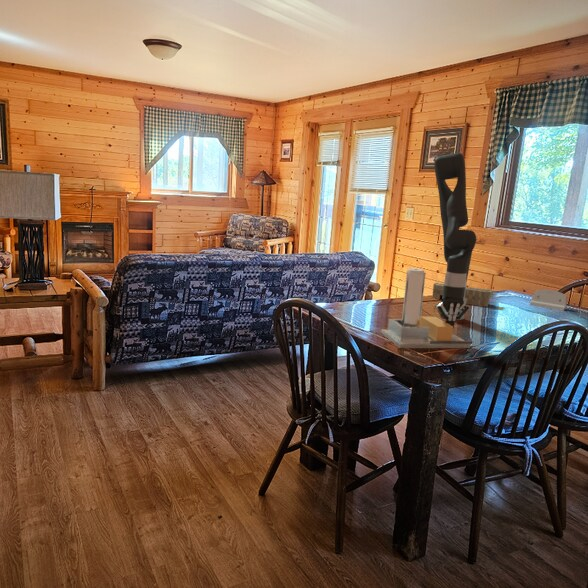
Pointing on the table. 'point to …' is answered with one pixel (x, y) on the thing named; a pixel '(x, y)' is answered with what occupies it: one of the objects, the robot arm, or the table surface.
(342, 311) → the table surface
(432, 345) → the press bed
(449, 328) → the block
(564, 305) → the hinge
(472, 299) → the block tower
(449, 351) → the table surface
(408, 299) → the air filter
